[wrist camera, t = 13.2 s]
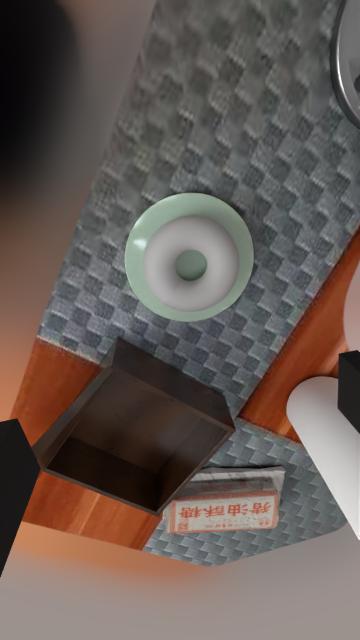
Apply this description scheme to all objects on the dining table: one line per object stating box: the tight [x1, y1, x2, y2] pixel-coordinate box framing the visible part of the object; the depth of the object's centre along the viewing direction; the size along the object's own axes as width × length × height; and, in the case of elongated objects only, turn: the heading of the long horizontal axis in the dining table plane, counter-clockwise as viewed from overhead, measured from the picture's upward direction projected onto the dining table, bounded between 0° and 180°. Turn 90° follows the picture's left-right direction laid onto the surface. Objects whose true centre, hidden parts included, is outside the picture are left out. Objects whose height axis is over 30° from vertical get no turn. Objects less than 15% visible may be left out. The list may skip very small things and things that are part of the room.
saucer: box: [125, 193, 254, 322], centre depth 35 cm, size 14×14×1 cm
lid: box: [31, 365, 114, 479], centre depth 26 cm, size 17×16×5 cm
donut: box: [143, 215, 239, 312], centre depth 33 cm, size 10×3×10 cm
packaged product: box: [163, 466, 285, 534], centre depth 48 cm, size 18×5×10 cm
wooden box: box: [44, 337, 236, 516], centre depth 40 cm, size 16×16×7 cm
